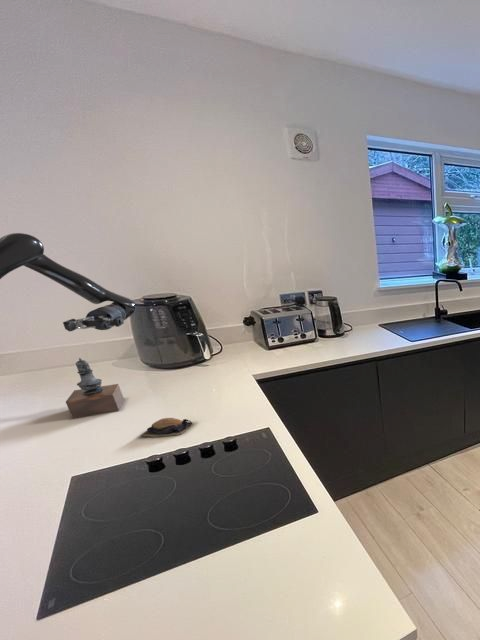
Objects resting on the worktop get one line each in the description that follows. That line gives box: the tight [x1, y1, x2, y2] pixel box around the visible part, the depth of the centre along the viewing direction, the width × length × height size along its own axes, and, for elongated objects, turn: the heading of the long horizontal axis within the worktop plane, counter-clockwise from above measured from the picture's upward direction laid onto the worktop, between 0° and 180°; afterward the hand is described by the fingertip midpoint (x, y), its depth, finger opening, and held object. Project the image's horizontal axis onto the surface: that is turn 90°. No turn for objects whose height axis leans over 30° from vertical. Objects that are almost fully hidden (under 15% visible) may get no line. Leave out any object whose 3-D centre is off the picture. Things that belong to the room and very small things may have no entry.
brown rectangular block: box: [65, 383, 125, 420], centre depth 134 cm, size 11×11×6 cm
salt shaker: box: [75, 357, 104, 395], centre depth 130 cm, size 6×6×12 cm
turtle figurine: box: [141, 417, 194, 438], centre depth 122 cm, size 11×8×4 cm
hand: (85, 327), depth 134 cm, fingers open, 8 cm apart
